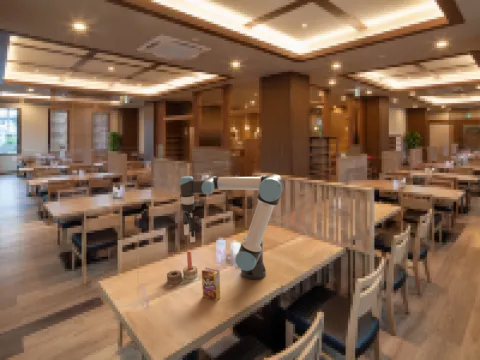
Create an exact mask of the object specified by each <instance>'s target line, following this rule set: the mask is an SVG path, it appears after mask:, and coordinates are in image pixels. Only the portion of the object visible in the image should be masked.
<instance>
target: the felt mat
mask: <svg viewBox="0 0 480 360" xmlns="http://www.w3.org/2000/svg"><path fill="white" fill-rule="evenodd" d="M165 280H166V281H167V278H165ZM195 281H200V277H199V276H198V277H196V278H195V279H192V280H186V279H184V277H183V274H182V282H181V283H180V284H179V285H182V284H187V283H191V282H195ZM167 284H168V283H167ZM174 286H175V285H169V284H168V287H174Z"/></svg>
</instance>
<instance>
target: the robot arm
mask: <svg viewBox="0 0 480 360" xmlns="http://www.w3.org/2000/svg"><path fill="white" fill-rule="evenodd" d="M179 187H180V197H179V200H180V203H181V204H180V205H181V206H180V207H181V211H182V212H183V214H182V223H183V233H184V236H188V235H189V242H190V243H195V242H196V231H197V229H196V223H195V217H194V215H195V214H194V213H193V212H192V211H194V210H195V209H196V208H195V194H197V195H198V194H200V195H201V194H202V195H209V194H211V195H212V194H213V193H214V191H215V190H219V191H220V190H228V191H229V190H232V191H233V190H234V191H237V190H239V191H240V190H241V191H244V190H245V191H258V192H257V196H256V199H257V201H258V202H257V205H256V208H255V211H254V214H253V216H252V220H251V222H250V226H249V229H248V232H247V234H246V237H244V238H243V240H242V242H241V244H240V246H239V249H238V252H237V253H236V255H235V259H234V261H235V264H236V266H237V267H238V268H239V269H240V274H241V276H242V277H243V278H245V279H248V280H259V279H262V278H264V277H265V276H266V274H267V272H266V271H267V270H266V266H265V263H264V250H263V249H264V247H263V246H264V241H263V238H264V235H265V232H266V230H267V228H268V227H267V226H268V224H269V222H270V220H271V219H270V218H271V216H272V213H273V210H274V207H276V206H278V205H279V201H280V199H281V196H282V193H283V192H284V190H285V189H286V182H285V179H284V178H283V177H282V176H281V175H279V174H261V175H260V176H216V175H215V176H214V175H212V176H209V177H206V178H204V179H200V180H198V179H197V180H195V179H194V177H193V176H190V175H185V176H181V177H180V179H179Z"/></svg>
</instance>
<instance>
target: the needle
mask: <svg viewBox="0 0 480 360" xmlns="http://www.w3.org/2000/svg"><path fill="white" fill-rule="evenodd" d="M186 258H187V260H186V261H187V262H186V263H187V266H188V270H192V266H193V256H192V250H187V251H186Z"/></svg>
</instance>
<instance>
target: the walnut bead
mask: <svg viewBox="0 0 480 360" xmlns="http://www.w3.org/2000/svg"><path fill="white" fill-rule="evenodd" d="M182 275H183V272H182V271H181V270H170V271H169V272H167V273H166V279H167V280H166V282H167V284H169V285H174V286H178V285H181V284H180V283H181V282H182ZM169 285H168V286H169Z"/></svg>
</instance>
